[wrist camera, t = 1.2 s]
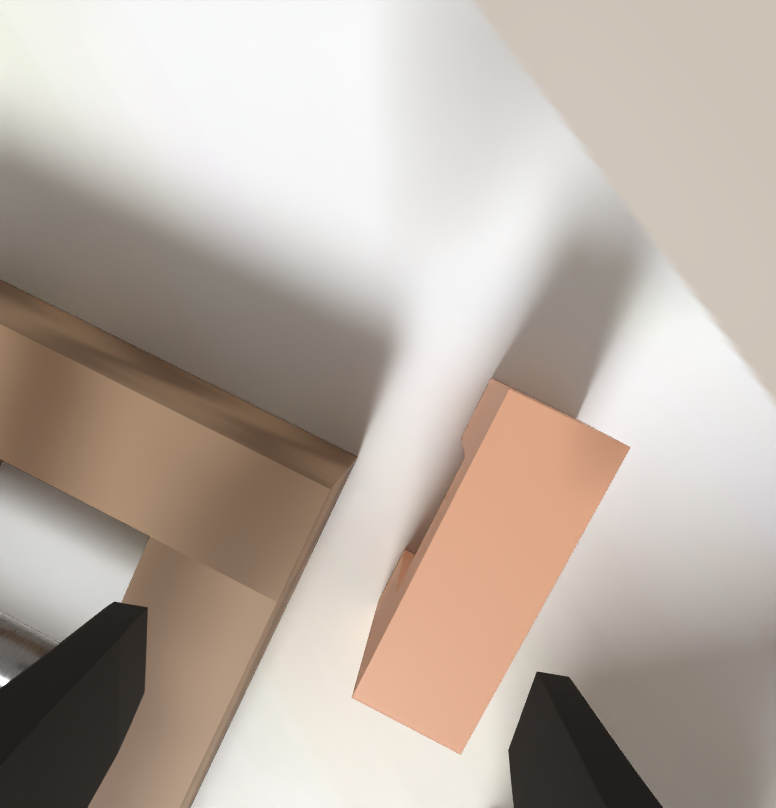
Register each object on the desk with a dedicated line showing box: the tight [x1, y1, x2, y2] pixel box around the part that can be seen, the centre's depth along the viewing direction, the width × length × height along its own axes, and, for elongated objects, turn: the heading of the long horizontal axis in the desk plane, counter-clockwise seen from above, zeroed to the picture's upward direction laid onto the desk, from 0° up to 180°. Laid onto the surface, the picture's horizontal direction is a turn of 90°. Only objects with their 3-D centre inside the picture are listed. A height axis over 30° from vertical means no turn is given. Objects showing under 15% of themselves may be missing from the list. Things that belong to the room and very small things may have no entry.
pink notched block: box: [352, 378, 630, 755], centre depth 18 cm, size 4×10×6 cm, turn 155°
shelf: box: [0, 280, 357, 808], centre depth 21 cm, size 18×22×5 cm
